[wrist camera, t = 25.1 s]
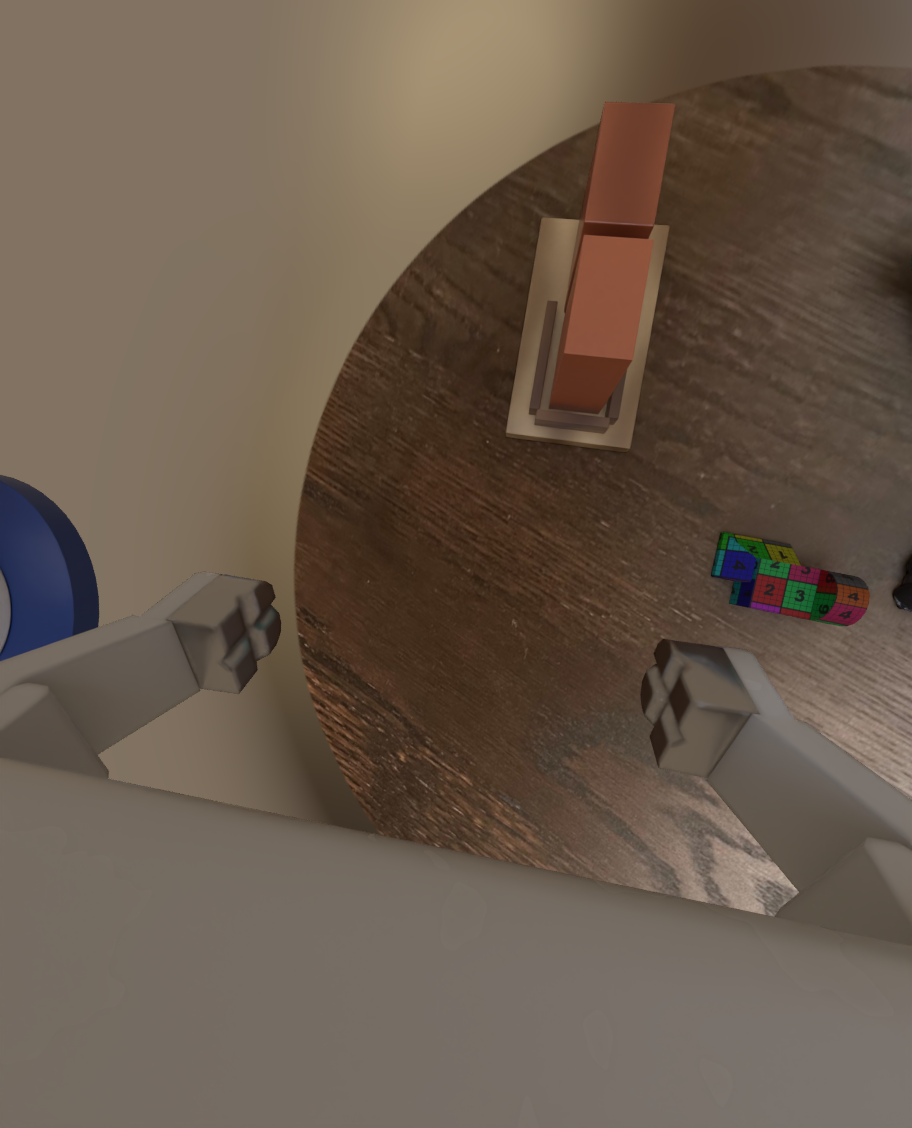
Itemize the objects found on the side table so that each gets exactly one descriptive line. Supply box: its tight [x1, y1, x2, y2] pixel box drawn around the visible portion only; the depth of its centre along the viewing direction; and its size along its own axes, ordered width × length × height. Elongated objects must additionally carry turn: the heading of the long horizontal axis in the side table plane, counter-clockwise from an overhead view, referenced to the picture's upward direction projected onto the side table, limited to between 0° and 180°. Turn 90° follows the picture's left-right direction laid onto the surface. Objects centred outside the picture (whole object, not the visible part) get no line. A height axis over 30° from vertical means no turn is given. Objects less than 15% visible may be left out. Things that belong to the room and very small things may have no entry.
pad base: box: [506, 102, 675, 452], centre depth 29 cm, size 10×18×10 cm, turn 170°
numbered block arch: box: [711, 532, 870, 626], centre depth 30 cm, size 8×5×4 cm
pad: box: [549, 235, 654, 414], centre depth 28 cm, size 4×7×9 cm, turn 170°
